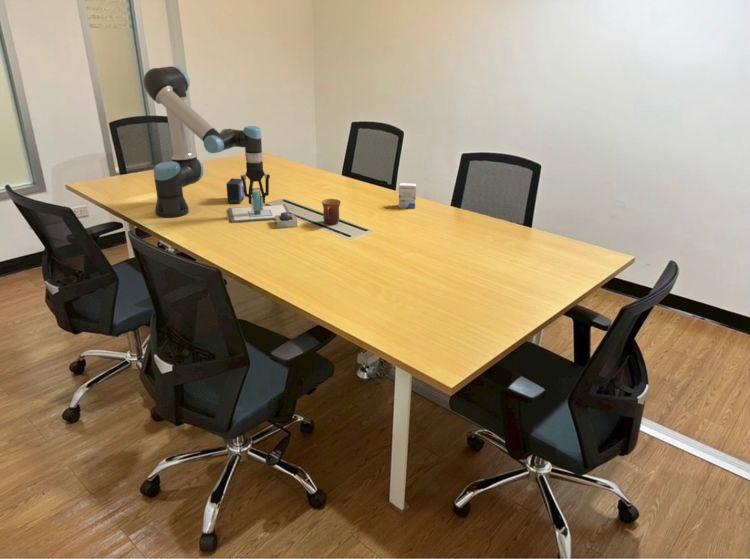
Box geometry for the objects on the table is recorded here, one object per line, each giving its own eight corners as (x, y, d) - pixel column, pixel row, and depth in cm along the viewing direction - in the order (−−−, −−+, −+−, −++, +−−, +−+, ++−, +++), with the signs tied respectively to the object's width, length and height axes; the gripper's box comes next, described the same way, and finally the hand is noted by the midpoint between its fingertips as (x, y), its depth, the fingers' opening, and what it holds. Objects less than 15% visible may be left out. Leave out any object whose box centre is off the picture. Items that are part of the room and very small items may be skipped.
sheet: (231, 223, 260) (231, 220, 260) (228, 209, 277) (228, 207, 277) (292, 218, 268) (292, 216, 268) (285, 206, 285) (285, 203, 285)
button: (281, 222, 258) (281, 215, 256) (280, 219, 261) (280, 212, 260) (291, 221, 259) (291, 215, 257) (289, 218, 263) (289, 212, 261)
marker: (253, 215, 268) (251, 190, 262) (252, 212, 271) (250, 188, 266) (262, 214, 269) (260, 189, 264) (261, 211, 272) (259, 187, 267)
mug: (324, 218, 269) (324, 198, 265) (342, 220, 268) (342, 199, 263) (317, 227, 258) (317, 205, 254) (336, 229, 257) (336, 207, 253)
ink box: (415, 205, 292) (416, 183, 287) (414, 208, 287) (416, 186, 282) (398, 204, 293) (399, 182, 288) (398, 207, 288) (399, 185, 283)
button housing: (277, 228, 256) (277, 221, 254) (274, 221, 264) (274, 215, 262) (297, 226, 258) (297, 220, 257) (294, 220, 266) (293, 214, 265)
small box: (240, 204, 286) (238, 184, 282) (227, 203, 286) (225, 183, 282) (245, 198, 296) (243, 178, 291) (232, 197, 296) (230, 178, 291)
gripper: (236, 164, 254) (240, 213, 264) (273, 162, 259) (276, 211, 268) (234, 160, 260) (238, 209, 270) (271, 158, 265) (274, 206, 275)
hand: (257, 210), depth 269 cm, fingers closed on marker, 4 cm apart
